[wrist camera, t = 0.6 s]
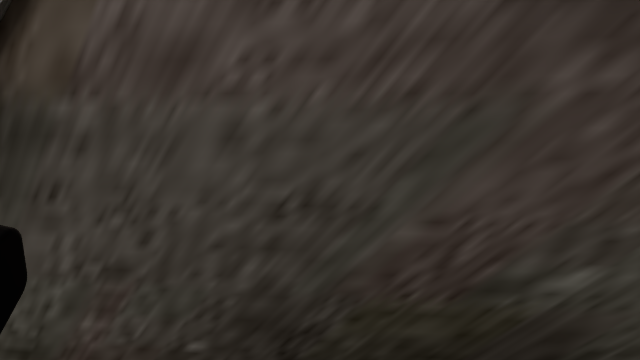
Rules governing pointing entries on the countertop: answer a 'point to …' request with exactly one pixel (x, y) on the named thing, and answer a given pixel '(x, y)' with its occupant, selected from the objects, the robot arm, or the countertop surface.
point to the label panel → (3, 7)
